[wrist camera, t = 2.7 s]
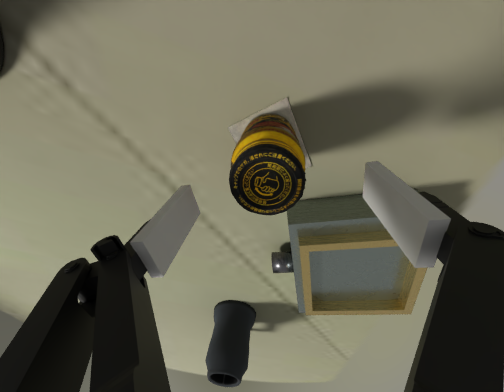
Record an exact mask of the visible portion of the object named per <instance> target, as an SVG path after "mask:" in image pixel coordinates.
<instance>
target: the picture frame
mask: <svg viewBox="0 0 504 392" xmlns="http://www.w3.org/2000/svg"><path fill="white" fill-rule="evenodd" d="M414 190H415V191H416V192H419V191H418V190H416V189H414ZM287 217H288V226H289V235H290V243H291V251H287V252H272V268H273V273H289V272H294V276H295V285H296V293H297V301H298V309H299V313H306V315H379V314H411V313H412V310H413V307H414V304H415V301H416V298H417V295H418V293H419V290H420V287H421V284H422V281H423V279H424V276H425V273H426V270H427V268H428V267H427V268H415V267H414V266H413V265H412V263H411V262H410V261H409V259H408V258H407V256H406V255H405V254H404V252H403V251H402V250H401V248H400V247H399V246H398V244H397V243H396V242H395V240H394V239H393V238H392V236H391V235H390V234H389V232H388V231H387V229H386V228H385V227H384V225H383V224H382V223H381V221H380V220H379V219H378V217H377V216H376V215H375V213H374V212H373V211H372V209H371V208H370V207H369V205H368V204H367V202H366V201H365V200H364V198H363V194H359V195H349V196H340V197H330V198H321V199H311V200H302V201H298V202H297V203H296V204H295V206H293V207H292V208H290V209H289V210H287Z"/></svg>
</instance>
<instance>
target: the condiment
mask: <svg viewBox="0 0 504 392" xmlns="http://www.w3.org/2000/svg"><path fill="white" fill-rule="evenodd" d="M228 129H229V131H230V133H231V135H232V137H233V139H234V140H235V142H236V144H237V145H236V147H235V149H234V152H233V155H232V159H231V170H230V177H229V183H230V188H231V193H232V195H233V196H234V198H235V199H236V201H237V202H238V203H239V205H241V206H242V207H243V208H244V209H246V210H248V211H250V212H253V213H257V214H262V215H275V214H279V213H282V212H285V211H287V210H289V209H290V208H292V207H293V206H295V204H296V203H297V202H298V201H299V199H300V198H301V197H302V195H303V191H304V189H305V181H306V179H305V174H306V173H305V169H306V168H308V167H311V166H312V165H311V162H310V160H309V157H308V154H307V151H306V149H305V146H304V143H303V140H302V137H301V135H300V132H299V129H298V126H297V123H296V121H295V118H294V115H293V112H292V110H291V107H290V104H289V101H288V98H285V99H283V100H281V101H279V102H277V103H275V104H273V105H271V106H269V107H267V108H265V109H263V110H261V111H259V112H257V113H255V114H253V115H251V116H249V117H247V118H245V119H243V120H241V121H240V122H237V123H235V124H233V125H231V126H229V127H228Z"/></svg>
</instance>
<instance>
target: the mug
mask: <svg viewBox="0 0 504 392" xmlns="http://www.w3.org/2000/svg"><path fill="white" fill-rule="evenodd" d="M255 318H256V312H255V310H254V309H253V308H252V307H251V306H250V305H248V304H246V303H244V302H240V301H236V300H226V301H222V302H219V303H218V304H217V305H216V306H215V308H214V322H215V326H214V330H213V334H212V338H211V341H210V344H209V348H208V352H207V356H206V365H207V369H208V373H207V377H208V380H209V381H210V382H212V383H213V384H216V385H219V386H224V387H235V386H238V385H239V384H240V383H241V380H242V376H243V375H244V373H245V372H246V370H247V368H248V358H249V340H250V330H251V328H252V327H253V325H254V321H255Z"/></svg>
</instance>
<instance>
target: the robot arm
mask: <svg viewBox="0 0 504 392" xmlns="http://www.w3.org/2000/svg"><path fill="white" fill-rule="evenodd" d="M3 55H4V54H3V41H2V35H1V31H0V70H1V67H2V64H3ZM363 198H364V200H365V201H366V202H367V204H368V205H369V207H370V208H371V209H372V211H373V212H374V213H375V215H376V216H377V217H378V219H379V220H380V221H381V223H382V224H383V225H384V227H385V228H386V229H387V231H388V232H389V234H390V235H391V236H392V238H393V239H394V240H395V242H396V243H397V244H398V246H399V247H400V248H401V250H402V251H403V252H404V254H405V255H406V256H407V258H408V259H409V261H410V262H411V263H412V265H413V266H414V267H415V268H427V267H434V265H435V262H436V259H437V258H438V259H439V260H440V261H441V262H442V263H443V264H444V266H443V268H442V271H441V273H440V276H439V278H438V283H437V287H436V290H435V293H434V296H433V300H432V303H431V306H430V310H429V313H428V316H427V319H426V322H425V325H424V329H423V332H422V335H421V338H420V342H419V345H418V348H417V351H416V354H415V358H414V361H413V364H412V367H411V371H410V374H409V377H408V380H407V383H406V387H405V390H404V392H503V380H504V232H503V231H501V230H500V229H498V228H496V227H494V226H491V225H488V224H484V223H478V222H470V221H468V220H467V219H466V218H464V217H463V216H461V215H460V214H459V213H457V212H456V211H455V210H453V209H452V208H450V207H449V206H448V205H446V204H445V203H442V201H441V200H439V199H438V198H437V197H435V196H433V195H431V194H428V193H426V192H416V191H415V190H414V189H413V188H411V187H410V186H409V185H407V184H406V183H405V182H404V181H402V180H401V179H400V178H399V177H397V176H396V175H395V174H394V173H392V172H391V171H390V170H388V169H387V168H386V167H385V166H383V165H382V164H381V163H380V162H378V161H374V162H367V163H366V164H365V175H364V186H363ZM199 214H200V211H199V208H198V205H197V202H196V200H195V197H194V194H193V192H192V189H191V186H190V185H184V186H181V187H180V188H179V189H178V190H177V191H176V192H175V193H174V194H173V196H172V197H171V198H170V199H169V200H168V201H167V202H166V203H165V204H164V205H163V206H162V208H161V209H160V210H159V211H158V212H157V213H156V214H155V215H154V216H153V217H152V219H150V220H149V221H147V222H146V223H145V224H144V225H143V226H142V227H141V228H140V230H138V231H137V232H136V234H134V235H133V236H132V238H131V239H130V240H129V241H128V242H127V243H126V244H125V245H123V244H122V242H121V241H120V239H119V237H118V236H115V235H113V236H109V237H106V238H104V239H102V240H100V241H98V242H97V243H96V244H94V245H93V246H92V248H91V252H92V253H93V254H94V255H95V257H96V258H97V259H98V261H97V262H94V263H91V264H90V263H89V262H88V261H87V260H86V259H85V258H79V259H76V260H74V261H71V262H69V263H67V264H66V265H65V266H64V267H63V268H61V269H60V270H59V272H58V273H57V274H56V276H55V277H54V279H53V280H52V282H51V283H50V285H49V286H48V288H47V289H46V291H45V292H44V294H43V295H42V297H41V298H40V300H39V301H38V303H37V304H36V306H35V307H34V309H33V310H32V312H31V313H30V314H29V316H28V317H27V319H26V320H25V322H24V323H23V325H22V327H21V328H20V329H19V331H18V332H17V334H16V335H15V337H14V338H13V340H12V341H11V343H10V344H9V346H8V347H7V349H6V350H5V352H4V353H3V355H2V356H1V358H0V392H79V391H80V388H81V385H82V382H83V379H84V375H85V372H86V369H87V366H88V363H89V360H90V357H91V353H92V365H91V381H90V392H171V390H170V386H169V381H168V376H167V372H166V367H165V363H164V358H163V354H162V349H161V345H160V340H159V336H158V331H157V327H156V322H155V318H154V313H153V309H152V304H151V300H150V295H149V291H148V286H147V282H146V279H145V278H144V274H145V273H146V271H148V273H149V274H150V276H151V277H163V276H164V275H165V273H166V271H167V269H168V268H169V266H170V264H171V263H172V261H173V259H174V257H175V256H176V254H177V252H178V250H179V249H180V247H181V245H182V244H183V242H184V240H185V238H186V237H187V235H188V233H189V232H190V230H191V228H192V226H193V225H194V223H195V221H196V219H197V218H198V216H199ZM78 299H79V300H80V302H79V303H78ZM92 350H93V352H92Z"/></svg>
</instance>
